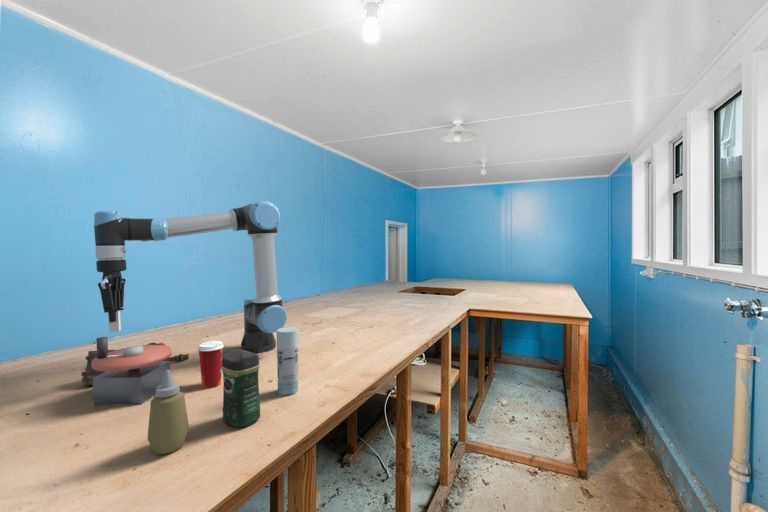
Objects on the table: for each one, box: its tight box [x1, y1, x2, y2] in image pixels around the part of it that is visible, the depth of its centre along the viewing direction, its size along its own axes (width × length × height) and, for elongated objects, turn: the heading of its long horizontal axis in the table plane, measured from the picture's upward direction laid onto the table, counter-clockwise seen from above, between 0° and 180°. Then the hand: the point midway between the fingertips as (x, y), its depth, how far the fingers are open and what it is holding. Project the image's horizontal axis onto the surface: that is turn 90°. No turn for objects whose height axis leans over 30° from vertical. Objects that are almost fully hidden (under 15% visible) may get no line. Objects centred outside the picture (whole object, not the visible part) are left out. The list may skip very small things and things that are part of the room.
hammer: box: [81, 349, 190, 386], centre depth 125 cm, size 7×33×10 cm, turn 145°
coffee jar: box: [222, 348, 261, 428], centre depth 90 cm, size 10×8×19 cm
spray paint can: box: [276, 326, 299, 397], centre depth 107 cm, size 6×6×20 cm
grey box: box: [92, 361, 171, 406], centre depth 106 cm, size 14×14×8 cm
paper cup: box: [197, 340, 225, 389], centre depth 112 cm, size 8×8×14 cm
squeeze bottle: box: [147, 369, 190, 455], centre depth 77 cm, size 8×8×18 cm
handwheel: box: [91, 336, 172, 372], centre depth 105 cm, size 20×20×10 cm
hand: (115, 331), depth 110 cm, fingers closed
